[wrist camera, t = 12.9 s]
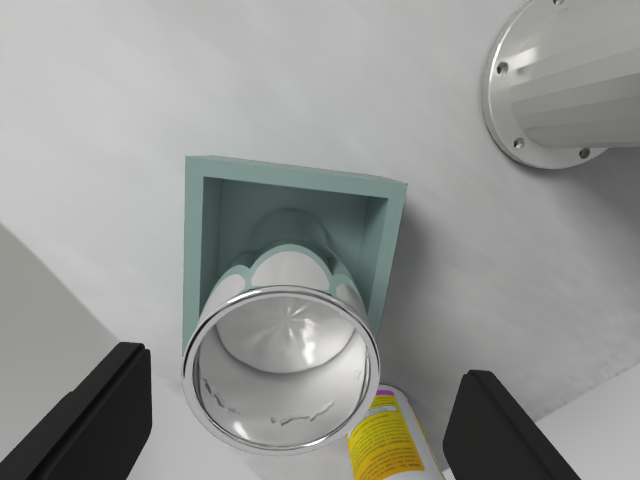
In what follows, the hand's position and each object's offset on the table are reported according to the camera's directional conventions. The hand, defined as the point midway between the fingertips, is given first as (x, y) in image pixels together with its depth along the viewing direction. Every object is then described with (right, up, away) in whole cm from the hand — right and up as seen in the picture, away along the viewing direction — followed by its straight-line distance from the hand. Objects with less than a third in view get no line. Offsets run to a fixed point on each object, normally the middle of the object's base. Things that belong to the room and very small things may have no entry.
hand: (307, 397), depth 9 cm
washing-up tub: (-2, +4, +16) cm, 17 cm away
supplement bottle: (+6, -12, +22) cm, 25 cm away
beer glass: (-2, +4, +16) cm, 16 cm away
